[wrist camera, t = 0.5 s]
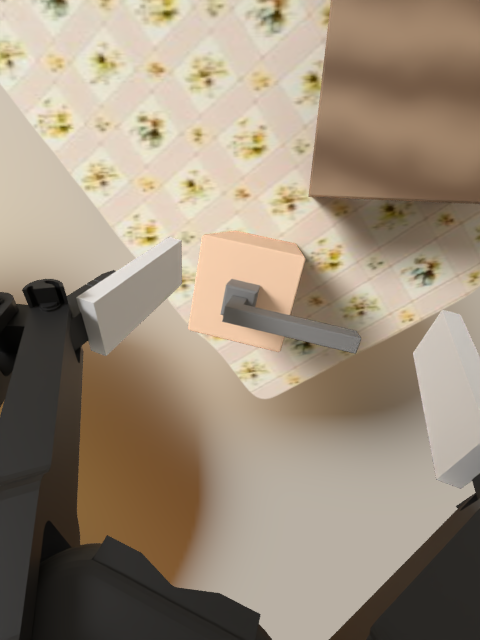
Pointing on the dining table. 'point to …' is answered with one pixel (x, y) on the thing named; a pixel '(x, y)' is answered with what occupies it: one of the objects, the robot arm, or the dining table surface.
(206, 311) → the soap dispenser
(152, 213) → the dining table surface
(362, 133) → the walnut stool
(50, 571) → the robot arm
